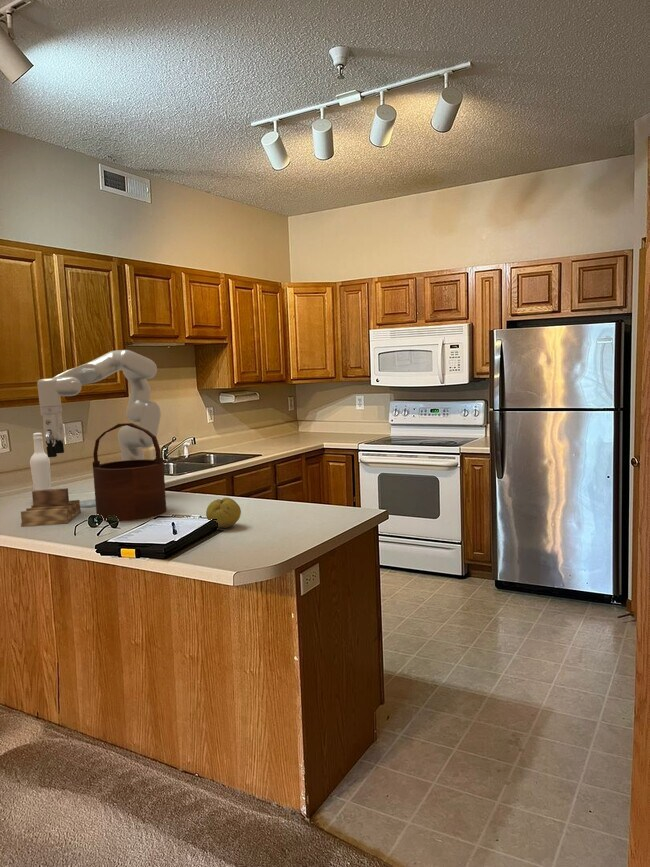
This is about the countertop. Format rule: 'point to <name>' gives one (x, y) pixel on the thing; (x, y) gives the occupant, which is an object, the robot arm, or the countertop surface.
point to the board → (50, 498)
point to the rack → (50, 514)
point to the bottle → (40, 465)
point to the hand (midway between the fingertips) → (56, 455)
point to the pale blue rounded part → (88, 503)
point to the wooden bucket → (130, 484)
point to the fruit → (224, 512)
